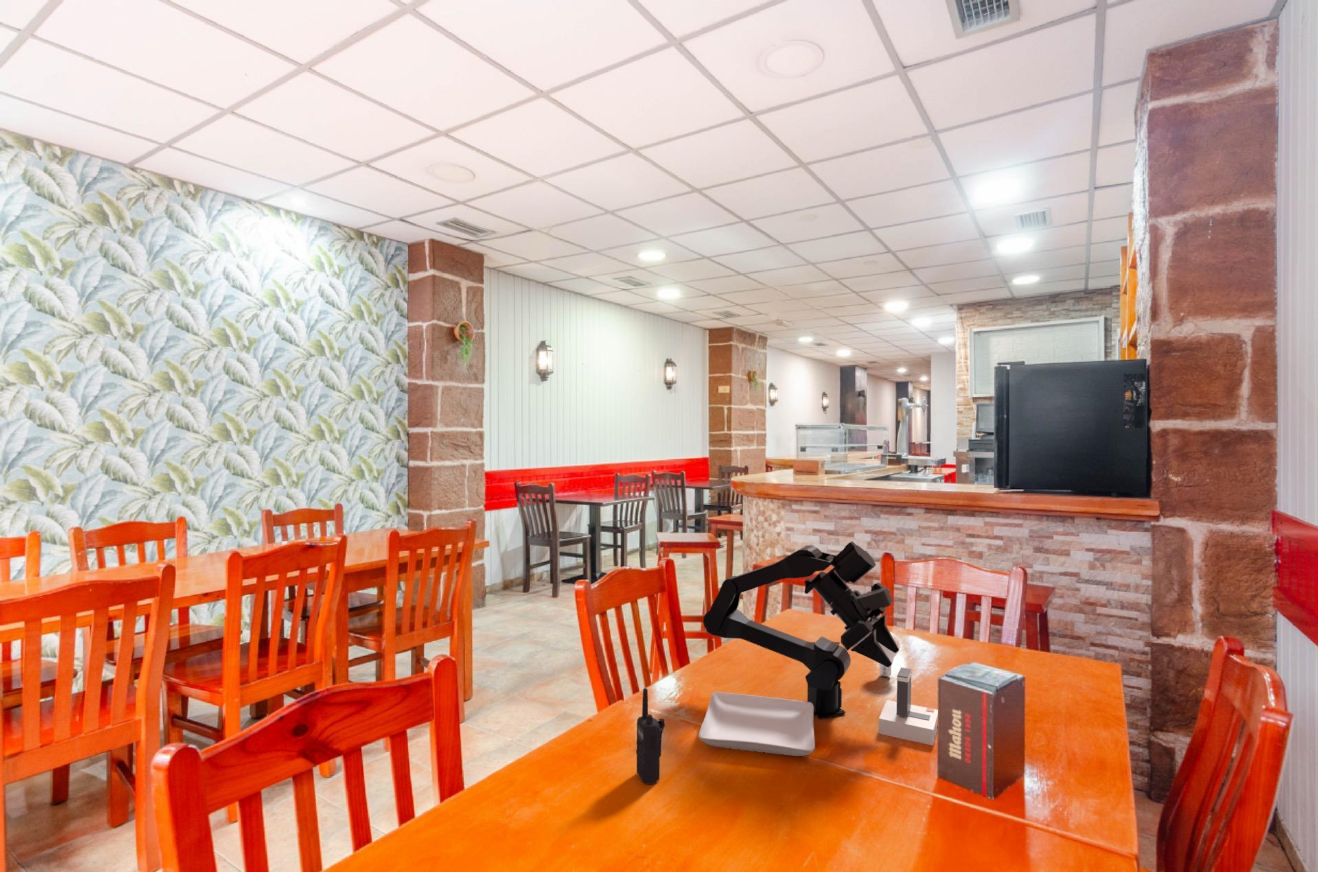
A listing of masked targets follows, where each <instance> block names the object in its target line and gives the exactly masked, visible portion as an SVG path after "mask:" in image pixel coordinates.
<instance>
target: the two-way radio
mask: <svg viewBox="0 0 1318 872" xmlns="http://www.w3.org/2000/svg"><path fill="white" fill-rule="evenodd" d="M648 690H649V689H648V688H646V687H645V688H643V689H642V706H641V708H642V709H641V710H642V711H641V716H639V717H638V718H637V719H636V742H635V743H636V749H635V750H636V752H635V753H636V774H637V776H638V777H639V778H640V780H641V781H642V782H643V784H645V785H652V784H656V783H657V782H658V781H659V780H660V768H661V767H660V766H661V765H660V763H661V762H660V760H661V759H660V758H661V757H662V739H663V732H664V728H665V727H666V721H665V720H666V719H664V718H659V719H658V720H657V719H656V718H655V717H653V715H652V714H650V713H649V699H648V698H649V695H648V693H649V692H648Z"/></svg>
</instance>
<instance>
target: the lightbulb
mask: <svg viewBox="0 0 1318 872" xmlns="http://www.w3.org/2000/svg"><path fill="white" fill-rule="evenodd" d="M889 632H890V633H891V635H892V637H893V639H894V641H895V643H896V645H897V647H898V648H899V651H898V652H897V653H894V652H892V651H891V650H889V649H887V648H886V647H884V646H883V645H881V644H880V643H879V645H880V646H881V648H882V649H883V651H884V652H885V653H886V655H887V656H888V658H889V660H890V661H891V663H892V664H893V663H894V658H895V657H896V656H897V655H898V653H899V652H900V648H901V643H900V640H899V638H898V637H897V635H896V634H895V633H893V632H891V631H890V630H889ZM878 664H879V673H878V674H879V675H880V676H882V677H884V678H889V677H890V676H892V665H891V666H890V667H886V666H884V665H882V664H880V663H878Z"/></svg>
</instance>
